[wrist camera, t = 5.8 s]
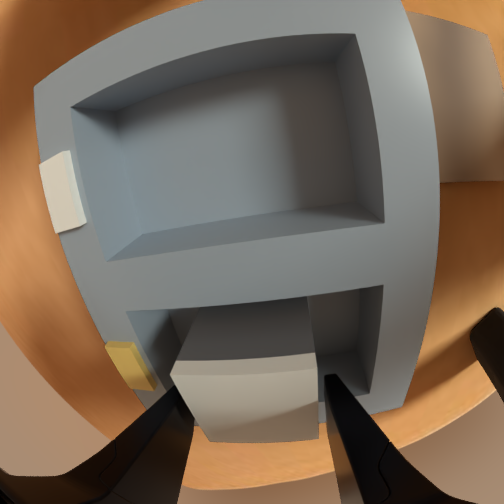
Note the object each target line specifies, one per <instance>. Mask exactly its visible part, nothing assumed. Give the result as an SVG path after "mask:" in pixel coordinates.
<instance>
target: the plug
mask: <svg viewBox="0 0 504 504" xmlns="http://www.w3.org/2000/svg"><path fill="white" fill-rule="evenodd" d="M170 376H171V378H172V380H173V381H174V383H175V385H176V387H177V389H178V390H179V392H180V394H181V396H182V398H183V399H184V401H185V403H186V404H187V406H188V408H189V410H190V411H191V413H192V414H193V416H194V418H195V419H196V421H197V423H198V424H199V426H200V427H201V429H202V430H203V432H204V434H205V435H206V437H207V438H208V440H209V441H210V442H227V443H273V442H291V441H303V440H313V439H319V417H318V375H317V363H316V355H315V348H314V341H313V334H312V327H311V320H310V314H309V307H308V301H307V296H303V297H295V298H287V299H278V300H269V301H260V302H250V303H240V304H229V305H218V306H205V307H200V308H199V310H198V312H197V315H196V317H195V319H194V321H193V323H192V326H191V328H190V330H189V332H188V335H187V337H186V339H185V341H184V344H183V346H182V348H181V350H180V353H179V355H178V357H177V359H176V362H175V364H174V366H173V369H172V371H171V373H170Z"/></svg>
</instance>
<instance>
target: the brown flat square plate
mask: <svg viewBox="0 0 504 504" xmlns="http://www.w3.org/2000/svg"><path fill="white" fill-rule="evenodd" d="M405 12H406V15H407V17H408V20H409V23H410V25H411V28H412V31H413V34H414V37H415V40H416V43H417V46H418V50H419V53H420V57H421V60H422V64H423V68H424V72H425V76H426V80H427V84H428V89H429V94H430V99H431V105H432V110H433V117H434V123H435V131H436V139H437V149H438V162H439V182H440V183H444V182H469V181H504V91H503V87H502V82H501V78H500V74H499V70H498V67H497V63H496V60H495V56H494V53H493V50H492V47H491V44H490V41H489V38H488V35H486V34H484V33H481V32H479V31H476V30H474V29H471V28H468V27H465V26H462V25H459V24H456V23H453V22H450V21H446V20H443V19H439V18H436V17H432V16H428V15H423V14H419V13H414V12H409V11H405Z"/></svg>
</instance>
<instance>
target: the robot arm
mask: <svg viewBox="0 0 504 504" xmlns="http://www.w3.org/2000/svg"><path fill="white" fill-rule="evenodd" d="M324 400H325V412H326V425H327V434H328V439H329V444H330V448H331V453H332V458H333V463H334V468H335V473H336V478H337V483H338V488H339V493H340V499H341V504H476V503H472V502H468V501H465V500H461V499H458V498H455V497H452V496H449V495H448V494H446V493H444V492H443V491H441V490H440V489H439V488H437V487H436V486H435V485H434V484H433V483H432V482H430V481H429V480H428V479H427V478H426V477H425V476H423V475H422V474H421V473H420V472H419V471H418V470H416V468H414V467H413V466H412V465H411V464H410V463H409V462H408V461H407V460H406V459H405V458H404V457H403V455H402V454H401V453H400V452H399V451H398V450H397V448H396V447H395V446H394V445H393V443H392V442H389V441H390V440H389V439H388V437H387V436H386V435H385V434H384V432H383V431H382V430H381V429H380V428H379V426H378V425H377V424H376V423H375V421H374V420H373V419H372V418H371V416H370V415H369V414H368V413H367V411H366V410H365V409H364V408H363V406H362V405H361V404H360V403H359V401H358V400H357V399H356V398H355V396H354V395H353V394H352V392H351V391H350V390H349V389H348V387H347V386H346V385H345V384H344V382H343V381H342V380H341V379H340V377H339V376H338V375H337V374H336V373H332V374H326V375H324ZM194 422H195V418H194V416H193V414H192V413H191V411H190V410H189V408H188V406H187V404H186V403H185V401H184V399H183V398H182V396H181V394H180V392H179V390H178V389H177V387H176V385H175V384H174V385H173V386H172V387H171V388H170V389H169V390H168V391H167V392H166V393H165V394H164V395H163V396H162V397H161V398H159V399H158V400H157V401H156V402H155V403H154V404H153V405H152V406H151V407H150V408H149V409H147V410H146V411H145V412H144V413H143V414H142V415H141V416H140V417H139V418H137V419H136V420H135V421H134V422H133V423H132V424H131V425H130V426H128V427H127V428H126V429H125V430H124V431H123V432H122V433H121V434H119V435H118V436H117V437H116V438H115V439H114V440H112V441H111V442H110V443H109V444H108V445H106V446H105V447H104V448H103V449H102V450H101V451H99V452H98V453H96V454H95V455H93V456H92V457H91V458H89V459H88V460H86V461H85V462H83V463H81V464H80V465H79V466H77V467H75V468H74V469H72V470H70V471H69V472H67V473H65V474H62V475H58V476H42V477H41V476H40V477H39V476H35V477H34V476H14V475H9V474H8V473H7V472H6V471H4V470H3V469H2V468H0V504H177V501H178V497H179V493H180V488H181V484H182V480H183V475H184V471H185V467H186V463H187V458H188V454H189V450H190V446H191V442H192V437H193V431H194Z"/></svg>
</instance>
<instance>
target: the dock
mask: <svg viewBox="0 0 504 504" xmlns="http://www.w3.org/2000/svg"><path fill="white" fill-rule="evenodd" d="M34 108H35V121H36V131H37V139H38V147H39V153H40V160H41V164H39V169H40V174H41V179H42V184H43V188H44V193H45V197H46V201H47V205H48V209H49V213H50V216H51V220H52V223H53V227H54V230H55V233H58V234H59V237H60V240H61V244H62V247H63V249H64V252H65V255H66V258H67V261H68V263H69V266H70V269H71V271H72V274H73V276H74V279H75V281H76V284H77V286H78V289H79V291H80V293H81V296H82V298H83V300H84V302H85V305H86V307H87V309H88V311H89V313H90V315H91V317H92V319H93V321H94V323H95V325H96V327H97V329H98V331H99V333H100V335H101V337H102V339H103V341H104V343H105V344H106V345H105V346H104V347H105V349H106V351H107V353H108V354H109V356H110V358H111V360H112V361H113V363H114V365H115V366H116V368H117V370H118V371H119V373H120V374H121V376H122V378H123V379H124V381H125V382H126V384H127V385H128V387H129V388H131V389H133V391H134V392H135V394H136V395H137V397H138V398H139V400H140V401H141V402H142V404H143V405H144V407H145V408H146V409H149V408H150V407H151V406H152V405H153V404H154V403H155V402H156V401H157V400H158V399H159V398H161V397H162V396H163V395H164V394H165V393H166V392H167V391H168V390H169V389H170V388H171V387H172V386H173V385H174V384H175V383H174V381H173V380H172V378H171V376H170V373H171V371H172V369H173V366H174V364H175V362H176V359H177V357H178V355H179V353H180V350H181V348H182V346H183V344H184V341H185V339H186V337H187V335H188V332H189V330H190V328H191V326H192V323H193V321H194V319H195V317H196V315H197V312H198V310H199V308H200V307H205V306H218V305H229V304H240V303H250V302H260V301H269V300H278V299H287V298H295V297H303V296H307V301H308V307H309V314H310V320H311V327H312V334H313V341H314V348H315V355H316V363H317V375H318V417H319V423H324V422H326V412H325V400H324V375H326V374H332V373H336V374H337V375H338V376H339V377H340V379H341V380H342V381H343V382H344V384H345V385H346V386H347V387H348V389H349V390H350V391H351V392H352V394H353V395H354V396H355V398H356V399H357V400H358V401H359V403H360V404H361V405H362V406H363V408H364V409H365V410H366V411H367V413H368V414H369V415H370V414H375V413H379V412H384V411H388V410H392V409H396V408H399V407H402V405H403V403H404V400H405V397H406V394H407V392H408V389H409V386H410V383H411V380H412V377H413V373H414V370H415V367H416V364H417V360H418V357H419V353H420V349H421V345H422V341H423V337H424V333H425V329H426V324H427V319H428V315H429V309H430V304H431V298H432V292H433V286H434V279H435V271H436V262H437V252H438V239H439V219H440V182H439V162H438V149H437V139H436V131H435V123H434V117H433V110H432V105H431V99H430V94H429V89H428V84H427V80H426V76H425V72H424V68H423V64H422V60H421V57H420V53H419V50H418V46H417V43H416V40H415V37H414V34H413V31H412V28H411V25H410V23H409V20H408V17H407V15H406V12H405V10H404V7H403V5H402V3H401V0H204V1H200V2H196V3H193V4H189V5H186V6H183V7H180V8H177V9H174V10H171V11H168V12H165V13H163V14H160V15H157V16H155V17H152V18H150V19H147V20H145V21H142V22H140V23H138V24H135V25H133V26H131V27H129V28H127V29H125V30H122V31H120V32H118V33H116V34H114V35H112V36H110V37H109V38H107V39H105V40H103V41H101V42H99V43H97V44H96V45H94V46H92V47H90V48H89V49H87V50H85V51H84V52H82V53H80V54H79V55H77V56H76V57H74V58H73V59H71V60H70V61H68V62H67V63H65V64H64V65H62V66H61V67H59V68H58V69H56V70H55V71H54V72H52V73H51V74H50V75H48V76H47V77H46V78H44V79H43V80H42V81H40V82H39V83H38V84H37V85H35V86H34ZM194 426H199V424H198V423H197V421H196V419H195V422H194Z"/></svg>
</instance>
